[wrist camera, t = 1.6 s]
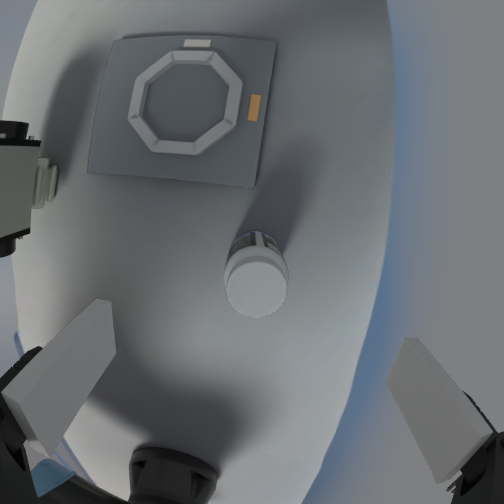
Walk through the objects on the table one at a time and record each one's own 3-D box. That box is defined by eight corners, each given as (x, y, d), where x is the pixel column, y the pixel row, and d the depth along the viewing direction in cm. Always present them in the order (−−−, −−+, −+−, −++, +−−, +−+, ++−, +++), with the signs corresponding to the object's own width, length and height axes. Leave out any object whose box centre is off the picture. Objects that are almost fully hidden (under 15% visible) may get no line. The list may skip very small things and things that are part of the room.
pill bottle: (228, 278, 27) (218, 321, 19) (230, 228, 26) (220, 253, 18) (278, 280, 27) (289, 324, 19) (283, 231, 26) (297, 257, 18)
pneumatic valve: (71, 129, 23) (-11, 118, 11) (56, 236, 26) (-21, 270, 14) (38, 127, 22) (-39, 120, 11) (25, 226, 25) (-48, 253, 14)
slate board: (253, 188, 25) (253, 189, 23) (93, 173, 24) (81, 173, 22) (275, 47, 21) (277, 37, 19) (118, 44, 21) (109, 37, 18)
